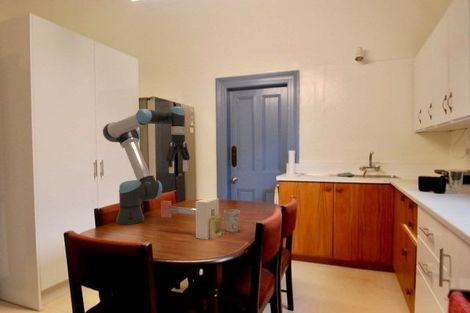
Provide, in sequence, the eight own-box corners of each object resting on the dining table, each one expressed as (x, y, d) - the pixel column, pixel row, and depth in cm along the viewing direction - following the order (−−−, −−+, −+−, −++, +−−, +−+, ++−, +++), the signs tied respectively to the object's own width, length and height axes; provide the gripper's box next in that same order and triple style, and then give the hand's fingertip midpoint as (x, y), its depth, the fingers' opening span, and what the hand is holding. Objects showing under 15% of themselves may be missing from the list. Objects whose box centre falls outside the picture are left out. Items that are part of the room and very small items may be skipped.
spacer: (209, 238, 136) (209, 219, 136) (218, 233, 144) (218, 215, 144) (213, 239, 135) (213, 219, 135) (222, 234, 143) (221, 215, 143)
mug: (228, 233, 144) (228, 213, 144) (218, 227, 155) (218, 208, 155) (243, 231, 148) (243, 211, 148) (232, 225, 159) (232, 207, 159)
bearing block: (195, 238, 137) (195, 201, 137) (208, 231, 148) (207, 197, 148) (207, 239, 135) (207, 202, 134) (218, 232, 146) (218, 198, 145)
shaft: (160, 216, 150) (160, 201, 150) (164, 215, 153) (163, 200, 153) (207, 221, 140) (207, 204, 139) (210, 220, 142) (209, 203, 142)
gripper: (170, 133, 153) (171, 173, 153) (195, 135, 176) (195, 170, 176) (158, 133, 156) (159, 173, 156) (184, 135, 179) (185, 170, 179)
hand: (178, 172), depth 166 cm, fingers open, 13 cm apart
